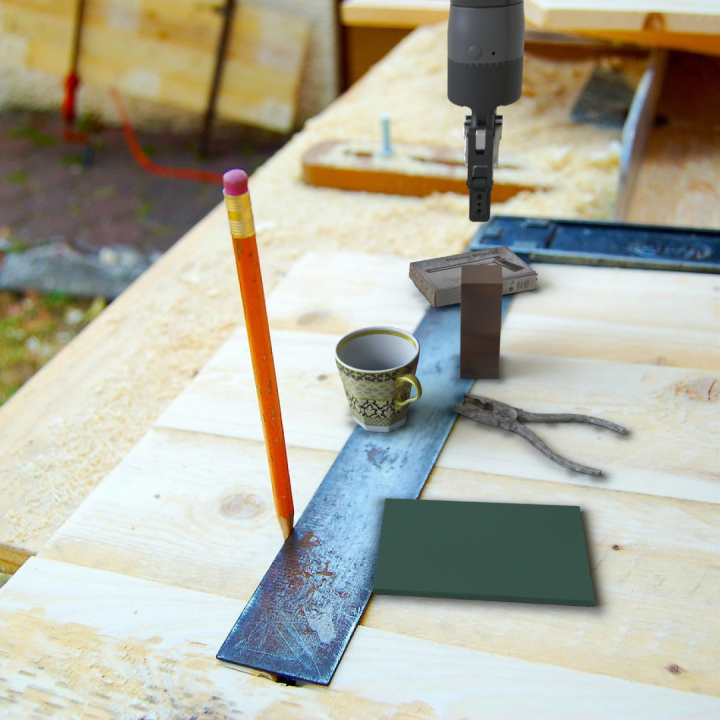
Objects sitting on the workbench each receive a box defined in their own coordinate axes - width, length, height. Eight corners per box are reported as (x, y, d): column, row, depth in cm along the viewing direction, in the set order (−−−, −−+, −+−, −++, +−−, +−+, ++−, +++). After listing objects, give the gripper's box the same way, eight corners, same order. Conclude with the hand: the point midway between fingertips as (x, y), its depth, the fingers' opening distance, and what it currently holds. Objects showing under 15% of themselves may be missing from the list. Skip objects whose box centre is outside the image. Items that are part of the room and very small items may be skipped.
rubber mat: (578, 511, 79) (579, 505, 78) (594, 606, 69) (595, 600, 68) (385, 503, 81) (385, 497, 81) (373, 594, 72) (372, 588, 71)
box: (407, 279, 123) (407, 261, 121) (505, 260, 127) (506, 243, 125) (433, 311, 114) (434, 292, 112) (537, 290, 118) (539, 272, 117)
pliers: (617, 474, 81) (437, 437, 88) (616, 480, 82) (437, 443, 89) (627, 421, 89) (460, 391, 96) (626, 427, 89) (460, 396, 96)
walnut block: (497, 358, 103) (501, 264, 96) (498, 379, 99) (503, 283, 91) (460, 357, 104) (461, 264, 96) (459, 378, 100) (460, 283, 92)
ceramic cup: (324, 413, 95) (317, 345, 90) (388, 383, 100) (385, 317, 94) (387, 466, 86) (383, 395, 81) (454, 431, 91) (455, 361, 85)
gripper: (524, 67, 69) (515, 232, 78) (523, 35, 81) (516, 182, 90) (441, 69, 71) (441, 231, 80) (452, 37, 82) (452, 182, 91)
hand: (481, 205), depth 85 cm, fingers open, 8 cm apart
